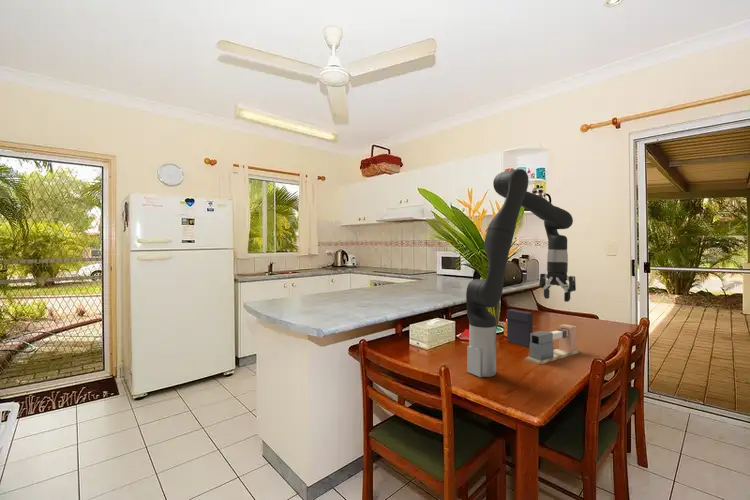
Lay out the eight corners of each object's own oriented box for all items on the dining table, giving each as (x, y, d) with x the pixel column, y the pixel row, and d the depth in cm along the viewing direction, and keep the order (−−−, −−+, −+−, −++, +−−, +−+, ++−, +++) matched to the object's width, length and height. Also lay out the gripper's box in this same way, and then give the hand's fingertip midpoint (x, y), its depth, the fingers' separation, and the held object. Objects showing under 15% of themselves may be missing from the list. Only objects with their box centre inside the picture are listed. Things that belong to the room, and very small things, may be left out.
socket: (570, 352, 145) (570, 327, 144) (559, 348, 149) (559, 325, 149) (576, 350, 147) (576, 326, 147) (564, 347, 151) (564, 324, 151)
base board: (539, 364, 133) (539, 362, 133) (525, 360, 138) (525, 357, 138) (580, 352, 147) (580, 349, 147) (566, 348, 153) (566, 346, 153)
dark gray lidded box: (533, 346, 156) (533, 312, 156) (528, 347, 154) (528, 313, 154) (511, 340, 166) (512, 308, 165) (506, 341, 163) (506, 309, 163)
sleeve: (541, 360, 134) (541, 335, 134) (529, 357, 139) (529, 333, 138) (553, 357, 139) (553, 333, 138) (541, 353, 143) (541, 330, 143)
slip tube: (548, 342, 138) (548, 334, 138) (541, 340, 141) (541, 333, 141) (572, 335, 147) (572, 328, 147) (565, 334, 150) (565, 327, 149)
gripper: (536, 260, 149) (535, 298, 149) (569, 261, 137) (568, 303, 137) (546, 259, 153) (546, 296, 153) (579, 261, 140) (579, 301, 141)
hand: (556, 299), depth 145 cm, fingers open, 8 cm apart
